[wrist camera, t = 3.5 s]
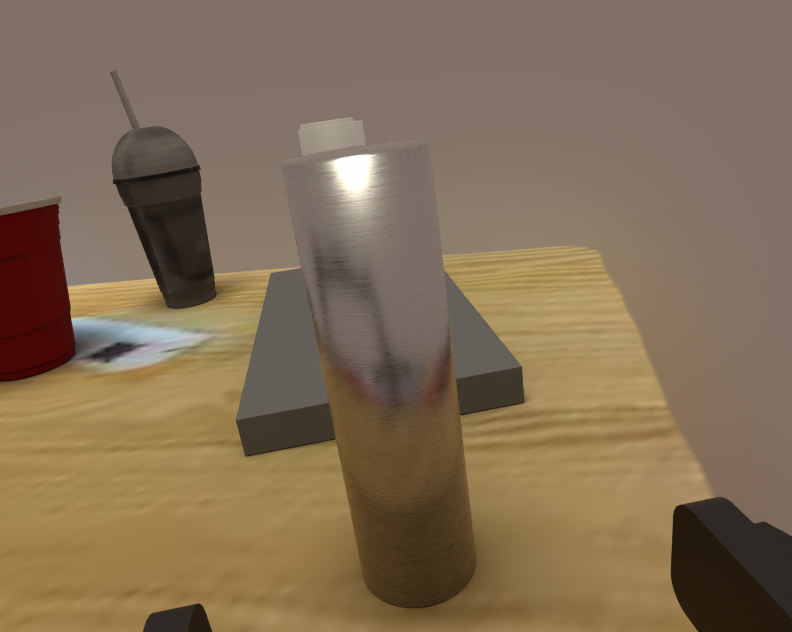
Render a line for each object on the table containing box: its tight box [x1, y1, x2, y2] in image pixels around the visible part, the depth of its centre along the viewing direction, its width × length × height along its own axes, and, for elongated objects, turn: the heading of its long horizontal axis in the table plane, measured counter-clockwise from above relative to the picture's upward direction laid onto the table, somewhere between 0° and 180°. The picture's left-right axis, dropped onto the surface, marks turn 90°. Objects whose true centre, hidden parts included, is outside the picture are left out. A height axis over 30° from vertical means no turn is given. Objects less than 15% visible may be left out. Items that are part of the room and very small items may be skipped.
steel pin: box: [281, 140, 476, 608], centre depth 18 cm, size 4×4×14 cm
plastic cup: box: [0, 196, 75, 380], centre depth 43 cm, size 11×11×12 cm
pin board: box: [236, 117, 524, 456], centre depth 39 cm, size 14×26×14 cm, turn 8°
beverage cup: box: [110, 71, 216, 308], centre depth 51 cm, size 7×7×20 cm
